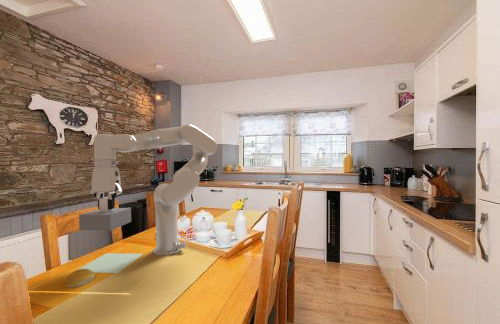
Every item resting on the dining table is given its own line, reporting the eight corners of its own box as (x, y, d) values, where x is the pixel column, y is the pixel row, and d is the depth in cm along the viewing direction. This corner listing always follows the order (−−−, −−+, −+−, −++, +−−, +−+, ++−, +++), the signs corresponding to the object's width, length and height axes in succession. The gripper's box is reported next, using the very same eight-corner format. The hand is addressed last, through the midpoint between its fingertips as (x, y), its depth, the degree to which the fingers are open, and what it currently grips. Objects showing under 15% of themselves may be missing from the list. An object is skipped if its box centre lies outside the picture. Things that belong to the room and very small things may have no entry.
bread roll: (67, 292, 78) (67, 280, 78) (65, 281, 85) (65, 270, 85) (97, 283, 84) (96, 271, 84) (93, 274, 90) (92, 263, 90)
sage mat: (143, 254, 107) (143, 253, 107) (118, 274, 89) (118, 272, 89) (106, 254, 109) (106, 253, 109) (73, 273, 91) (73, 272, 91)
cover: (131, 221, 103) (130, 195, 103) (110, 230, 90) (110, 200, 90) (103, 221, 104) (103, 195, 104) (79, 230, 91) (78, 200, 91)
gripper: (130, 163, 100) (130, 207, 100) (93, 164, 102) (94, 207, 102) (118, 164, 92) (119, 211, 93) (79, 164, 94) (80, 210, 94)
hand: (106, 208), depth 97 cm, fingers closed on cover, 3 cm apart
